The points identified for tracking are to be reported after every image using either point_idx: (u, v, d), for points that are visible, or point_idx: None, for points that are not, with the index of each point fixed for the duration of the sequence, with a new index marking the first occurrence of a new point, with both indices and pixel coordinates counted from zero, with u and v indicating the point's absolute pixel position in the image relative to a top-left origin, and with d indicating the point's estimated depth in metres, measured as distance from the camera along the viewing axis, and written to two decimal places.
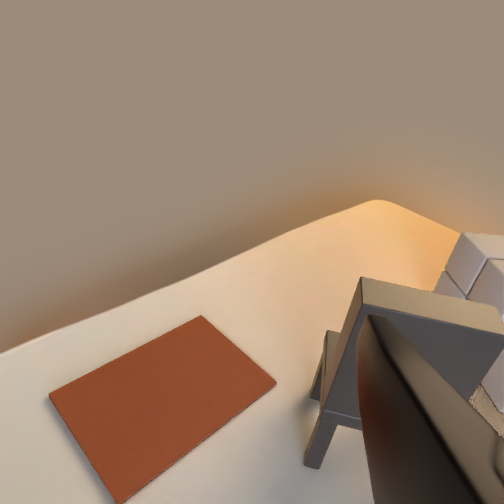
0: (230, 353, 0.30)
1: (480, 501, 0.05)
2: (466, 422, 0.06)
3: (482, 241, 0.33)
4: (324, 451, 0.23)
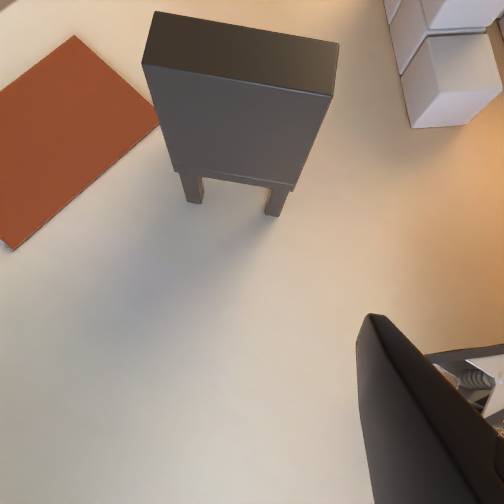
0: (111, 85, 0.26)
1: (480, 501, 0.05)
2: (466, 422, 0.06)
3: None
4: (197, 193, 0.23)
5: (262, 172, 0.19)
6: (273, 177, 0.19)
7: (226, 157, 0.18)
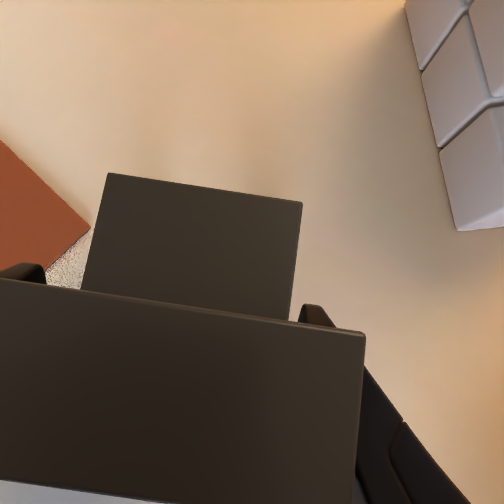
0: (11, 179, 0.17)
1: (363, 484, 0.05)
2: (372, 408, 0.06)
3: None
4: None
5: None
6: None
7: None
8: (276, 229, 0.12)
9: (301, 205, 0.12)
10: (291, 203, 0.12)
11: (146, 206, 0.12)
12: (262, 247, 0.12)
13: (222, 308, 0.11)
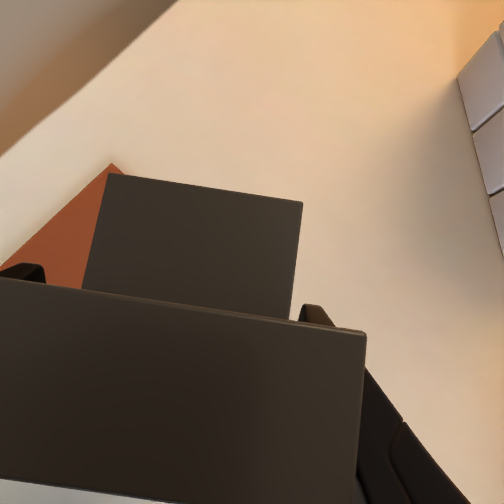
0: None
1: (362, 484, 0.05)
2: (372, 408, 0.06)
3: None
4: None
5: None
6: None
7: None
8: (276, 229, 0.12)
9: (301, 205, 0.12)
10: (291, 203, 0.12)
11: (146, 206, 0.12)
12: (262, 247, 0.12)
13: (223, 308, 0.11)
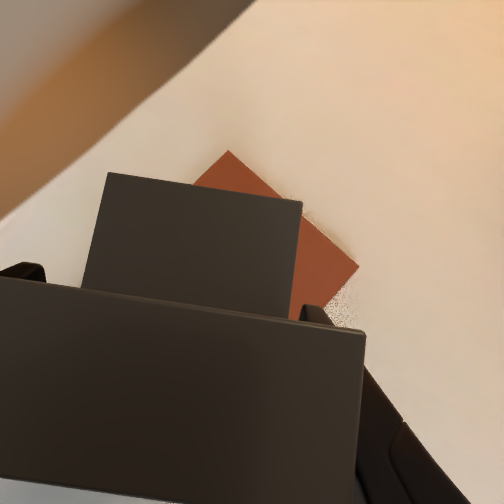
0: None
1: (362, 484, 0.05)
2: (372, 408, 0.06)
3: None
4: None
5: None
6: None
7: None
8: (276, 229, 0.12)
9: (301, 205, 0.12)
10: (291, 203, 0.12)
11: (146, 205, 0.12)
12: (262, 246, 0.12)
13: (222, 308, 0.11)
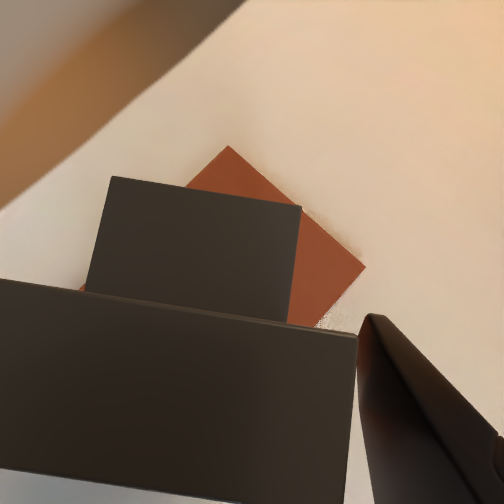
0: None
1: (480, 501, 0.05)
2: (466, 422, 0.06)
3: None
4: None
5: None
6: None
7: None
8: (276, 232, 0.12)
9: (300, 209, 0.12)
10: (290, 207, 0.12)
11: (149, 209, 0.12)
12: (262, 250, 0.12)
13: (223, 309, 0.12)
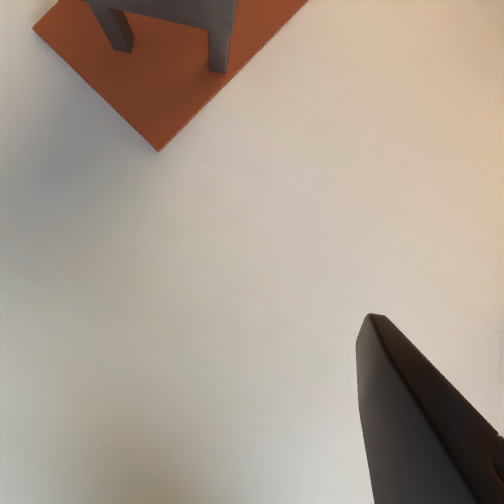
0: None
1: (480, 501, 0.05)
2: (466, 422, 0.06)
3: None
4: (120, 36, 0.18)
5: (187, 2, 0.14)
6: (203, 11, 0.15)
7: None
8: None
9: None
10: None
11: None
12: None
13: None
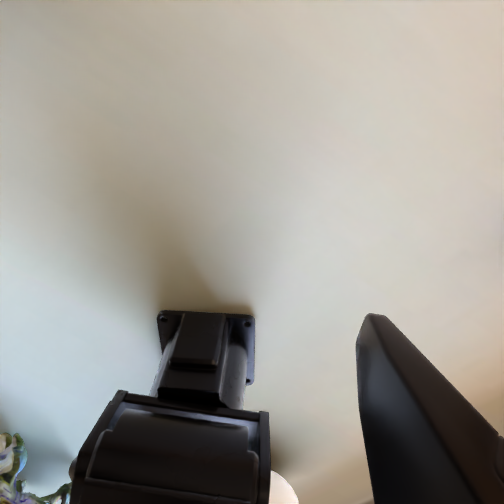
0: None
1: (480, 501, 0.05)
2: (466, 422, 0.06)
3: None
4: None
5: None
6: None
7: None
8: None
9: None
10: None
11: None
12: None
13: None
